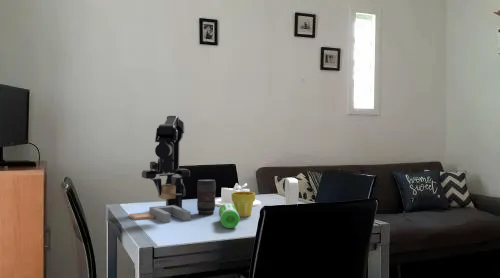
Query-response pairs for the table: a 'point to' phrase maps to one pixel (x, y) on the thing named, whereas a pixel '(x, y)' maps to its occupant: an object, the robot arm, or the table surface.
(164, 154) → the robot arm
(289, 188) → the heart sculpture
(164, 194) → the walnut block
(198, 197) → the camera lens
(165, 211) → the pocket board
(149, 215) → the terracotta tile
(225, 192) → the dish
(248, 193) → the plant pot
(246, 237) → the table surface
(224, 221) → the speaker
